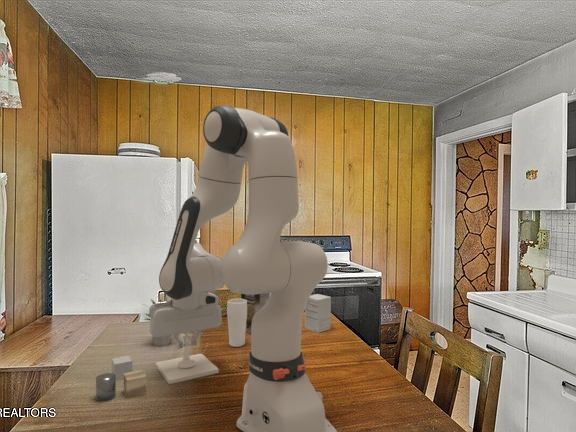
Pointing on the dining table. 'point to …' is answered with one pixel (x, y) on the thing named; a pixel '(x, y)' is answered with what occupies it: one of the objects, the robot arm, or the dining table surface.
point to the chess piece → (186, 354)
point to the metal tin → (105, 387)
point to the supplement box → (318, 313)
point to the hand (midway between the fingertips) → (186, 346)
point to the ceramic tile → (186, 369)
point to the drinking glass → (237, 321)
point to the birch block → (134, 383)
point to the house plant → (162, 339)
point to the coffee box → (254, 306)
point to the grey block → (121, 366)
